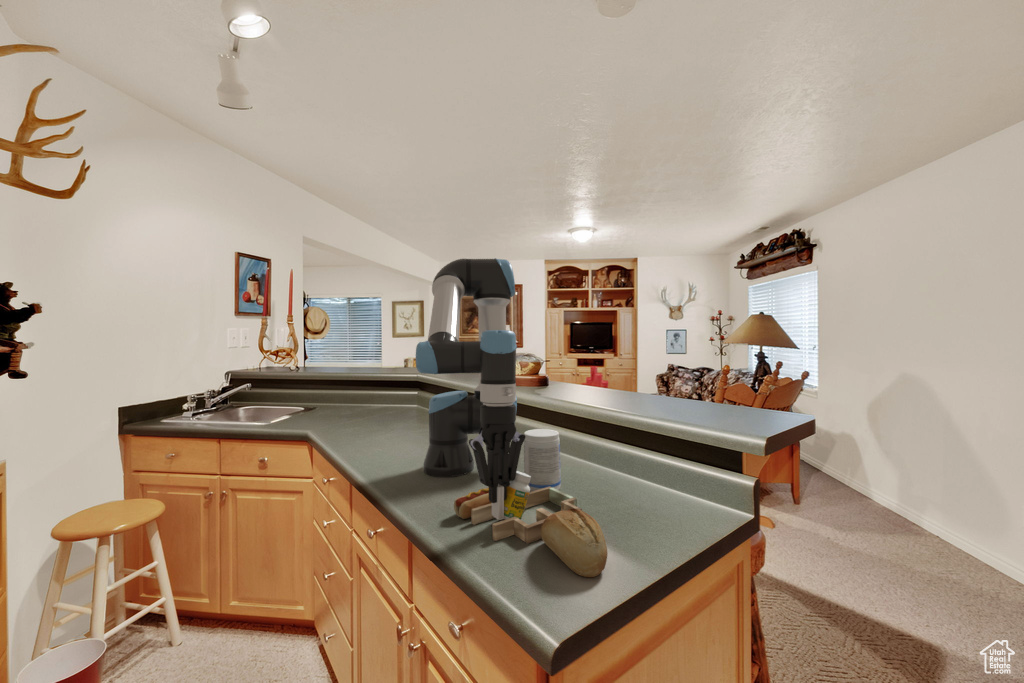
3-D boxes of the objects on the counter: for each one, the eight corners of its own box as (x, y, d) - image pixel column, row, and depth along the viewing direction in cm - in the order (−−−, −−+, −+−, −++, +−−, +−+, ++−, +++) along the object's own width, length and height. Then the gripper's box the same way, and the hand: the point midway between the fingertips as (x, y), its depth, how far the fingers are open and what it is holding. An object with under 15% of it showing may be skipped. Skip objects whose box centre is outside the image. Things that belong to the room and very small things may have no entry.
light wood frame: (471, 523, 85) (471, 509, 85) (549, 498, 97) (549, 486, 97) (508, 551, 73) (508, 535, 73) (591, 519, 86) (591, 505, 86)
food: (496, 499, 98) (496, 479, 98) (511, 505, 94) (511, 484, 94) (449, 516, 88) (448, 494, 88) (463, 525, 84) (463, 501, 84)
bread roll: (570, 534, 80) (569, 494, 80) (623, 572, 67) (622, 524, 66) (529, 546, 75) (528, 504, 75) (577, 589, 62) (576, 538, 62)
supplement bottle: (511, 514, 88) (524, 472, 90) (525, 524, 84) (539, 479, 86) (492, 511, 85) (506, 467, 87) (505, 521, 81) (520, 475, 83)
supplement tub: (568, 489, 103) (567, 433, 103) (539, 498, 98) (538, 438, 98) (545, 479, 111) (544, 426, 111) (517, 486, 106) (516, 431, 106)
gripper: (480, 408, 76) (479, 531, 76) (533, 403, 84) (533, 515, 83) (462, 403, 83) (461, 517, 82) (513, 399, 90) (512, 504, 89)
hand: (497, 516), depth 83 cm, fingers closed
